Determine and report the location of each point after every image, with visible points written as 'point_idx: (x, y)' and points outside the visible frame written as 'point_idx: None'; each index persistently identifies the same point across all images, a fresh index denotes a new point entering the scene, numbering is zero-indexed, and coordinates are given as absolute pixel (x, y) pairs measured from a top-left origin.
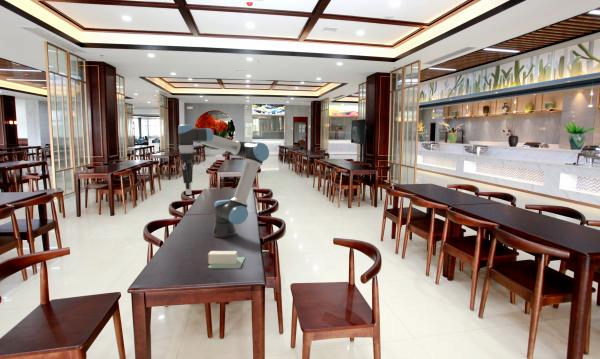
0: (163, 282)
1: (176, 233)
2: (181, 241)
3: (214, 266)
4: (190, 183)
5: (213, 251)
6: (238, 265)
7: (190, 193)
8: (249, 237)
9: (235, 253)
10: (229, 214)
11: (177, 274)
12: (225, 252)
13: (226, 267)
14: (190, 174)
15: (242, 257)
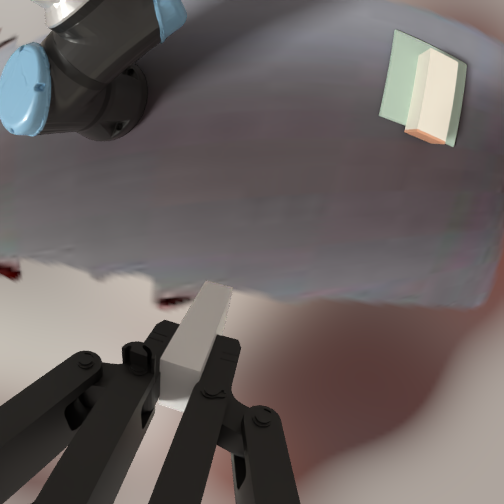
0: (486, 256)
1: (87, 266)
2: (164, 242)
3: (453, 128)
4: (187, 363)
5: (423, 121)
6: None
7: (229, 295)
8: None
9: (451, 59)
10: (162, 27)
11: (461, 228)
12: (439, 85)
13: (462, 97)
14: (93, 464)
15: (398, 36)
